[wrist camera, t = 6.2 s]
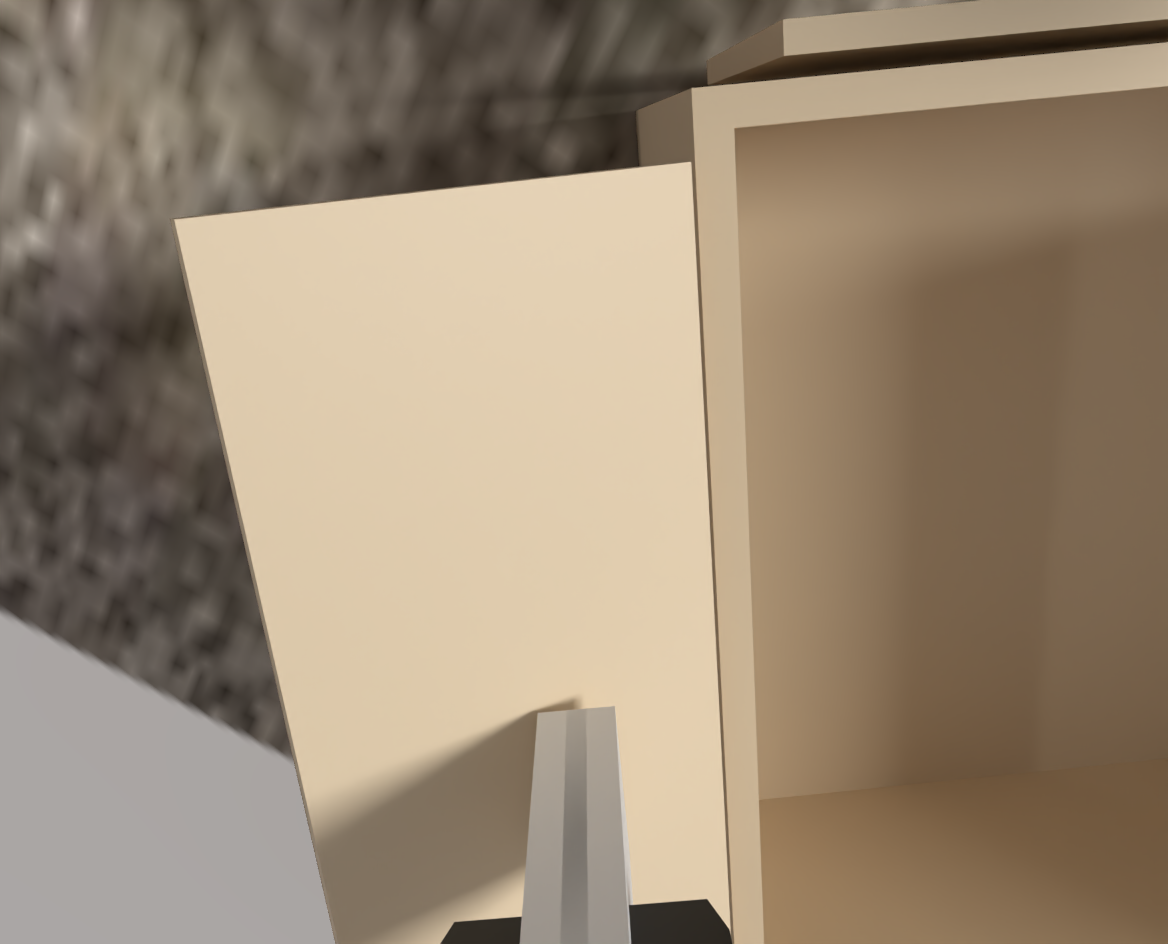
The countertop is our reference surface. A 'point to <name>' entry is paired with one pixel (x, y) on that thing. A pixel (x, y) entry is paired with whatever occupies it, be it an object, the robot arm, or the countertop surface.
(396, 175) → the countertop surface
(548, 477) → the flap
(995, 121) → the carton
